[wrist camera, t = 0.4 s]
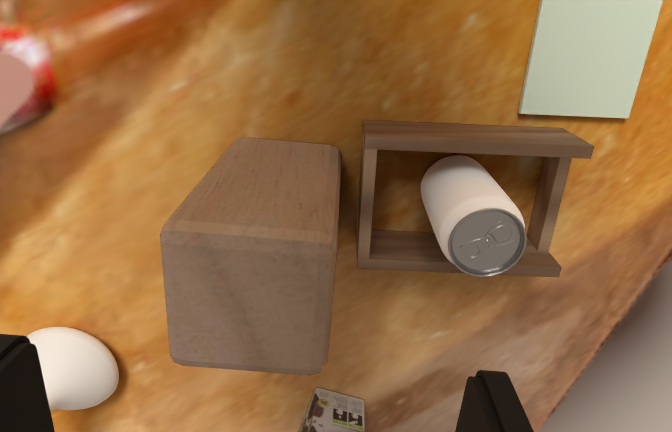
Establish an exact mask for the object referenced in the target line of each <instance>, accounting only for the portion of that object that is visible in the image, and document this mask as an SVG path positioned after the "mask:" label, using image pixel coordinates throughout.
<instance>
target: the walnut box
mask: <svg viewBox="0 0 672 432" xmlns="http://www.w3.org/2000/svg"><path fill="white" fill-rule="evenodd" d="M377 149H378V150H402V151H425V152H449V153H472V154H495V155H519V156H542V157H545V158H544V162H543V167H542V171H541V175H540V180H539V184H538V189H537V193H536V197H535V202H534V206H533V211H532V215H531V219H530V224H529V228H528V233H527V242H526V247H525V250H524V252H523V254H522V256H521V258H520V259H519V260H518V262H517V263H516V264H515V265H514V266H512V267H511V268H510V269H508V270H507V271H505V272H503V273H501V274H498V275H518V276H540V277H559V275H560V271H561V266H560V265H559V264H558V263H557V261H556V260H555V259H554V258H553V257H552V255H551V254H550V253H549V252H548V251H549V247H550V243H551V239H552V235H553V231H554V227H555V223H556V219H557V215H558V211H559V207H560V203H561V199H562V195H563V191H564V187H565V183H566V179H567V175H568V171H569V167H570V163H571V159H572V158H589V159H591V156H592V153H593V149H594V146H593V145H591V144H589V143H587V142H586V141H584V140H582V139H580V138H579V137H577V136H575V135H573V134H572V133H570V132H568V131H566V130H565V129H563V128H544V127H521V126H497V125H474V124H450V123H427V122H403V121H379V120H363V133H362V149H361V165H360V181H359V198H358V214H357V230H356V252H357V268H360V269H382V270H405V271H428V272H450V273H464V272H462V271H461V270H460V269H458V268H457V267H456V266H455V265H454V264H453V263H451V262H450V261H449V260H448V259H447V258H446V256H445V255H444V253H443V252H442V250H441V248H440V245H439V243H438V241H437V238H436V235H435V233H432V232H409V231H387V230H371V226H372V213H373V200H374V186H375V173H376V160H377Z"/></svg>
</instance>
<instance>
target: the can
mask: <svg viewBox="0 0 672 432" xmlns="http://www.w3.org/2000/svg"><path fill="white" fill-rule="evenodd" d="M420 191H421V198H422V201H423V204H424V207H425V209H426V212H427V215H428V217H429V220H430V223H431V225H432V228H433V230H434V233H435V235H436V238H437V241H438V243H439V245H440V248H441V250H442V252H443V253H444V255H445V256H446V258H447V259H448V260H449V261H450V262H451V263H453V264H454V265H455V266H456V267H457V268H458V269H460V270H461V271H462V272H464V273H466V274H468V275H471V276H476V277H490V276H495V275H498V274H501V273H503V272H505V271H507V270H508V269H510V268H511V267H512V266H514V265H515V264H516V263H517V262H518V260H519V259H520V258H521V256H522V254H523V252H524V250H525V247H526V242H527V236H526V231H525V224H524V220H523V217H522V215H521V213H520V211H519V209H518V208H517V207H516V205H515V204H514V203H513V202H512V200H511V199H510V198H509V197H508V196H507V194H506V193H505V192H504V191H503V190H502V188H501V187H500V186H499V185H498V184H497V183H496V181H495V180H494V179H493V178H492V177H491V176H490V174H489V173H488V172H487V171H486V170H485V169H484V168H483V167H482V165H481V164H479V163H478V162H477V161H476V160H474V159H472V158H470V157H467V156H462V155H453V156H448V157H445V158H442V159H440V160H438V161H437V162H435V163H434V164H433V165H432V166H431V167H430V168H429V169H428V170H427V171H426V173H425V174H424V176H423V179H422V182H421V188H420Z"/></svg>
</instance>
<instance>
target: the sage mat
mask: <svg viewBox="0 0 672 432" xmlns="http://www.w3.org/2000/svg"><path fill="white" fill-rule="evenodd" d="M662 2H663V0H540V2H539V7H538V13H537V18H536V23H535V28H534V33H533V38H532V43H531V48H530V54H529V59H528V64H527V69H526V74H525V79H524V84H523V89H522V94H521V100H520V105H519V110H518V113H520V114H537V115H560V116H584V117H608V118H629V114H630V111H631V108H632V104H633V101H634V97H635V94H636V90H637V87H638V84H639V80H640V77H641V73H642V70H643V67H644V63H645V60H646V56H647V53H648V49H649V46H650V43H651V39H652V36H653V32H654V29H655V26H656V22H657V19H658V15H659V12H660V8H661V5H662Z"/></svg>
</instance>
